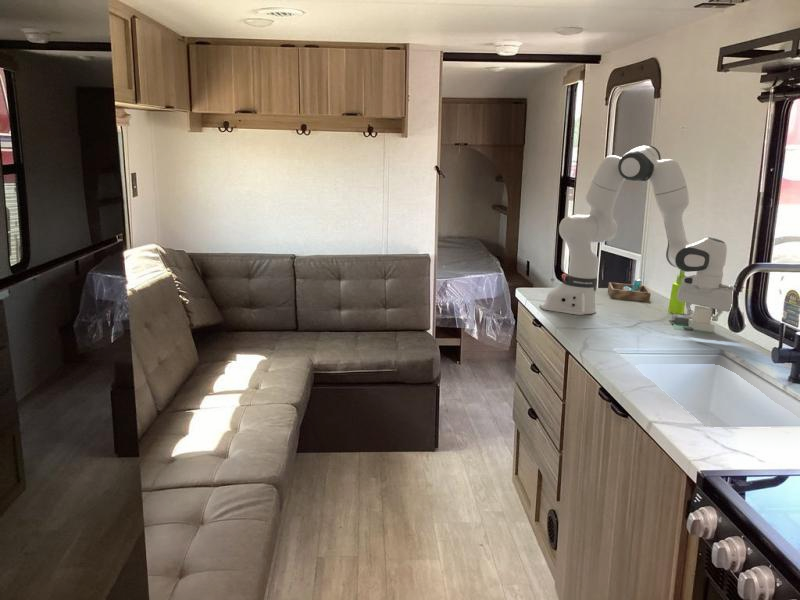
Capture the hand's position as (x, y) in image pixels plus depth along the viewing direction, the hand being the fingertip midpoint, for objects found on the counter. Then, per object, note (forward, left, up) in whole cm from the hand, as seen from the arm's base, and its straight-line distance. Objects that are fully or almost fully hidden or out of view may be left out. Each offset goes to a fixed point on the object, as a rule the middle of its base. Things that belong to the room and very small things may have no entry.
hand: (702, 317), depth 241 cm
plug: (0, 0, -4) cm, 4 cm away
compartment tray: (-3, +1, -5) cm, 6 cm away
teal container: (-18, +55, -6) cm, 59 cm away
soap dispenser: (-4, +24, -6) cm, 25 cm away
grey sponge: (-7, +5, -4) cm, 9 cm away
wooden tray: (-20, +54, -5) cm, 58 cm away
